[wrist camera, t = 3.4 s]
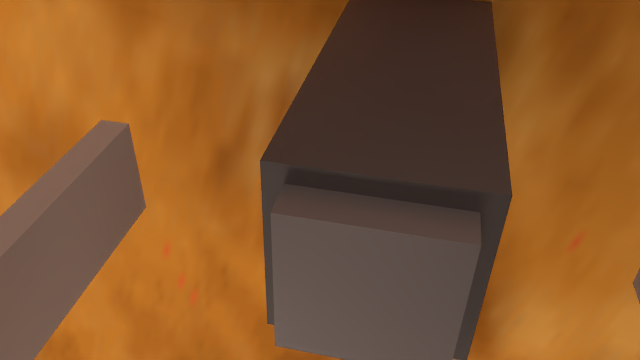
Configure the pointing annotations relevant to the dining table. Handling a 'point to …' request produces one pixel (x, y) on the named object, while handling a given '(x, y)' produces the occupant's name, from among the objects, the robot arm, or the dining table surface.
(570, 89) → the dining table surface
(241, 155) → the dining table surface
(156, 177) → the dining table surface
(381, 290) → the plug
